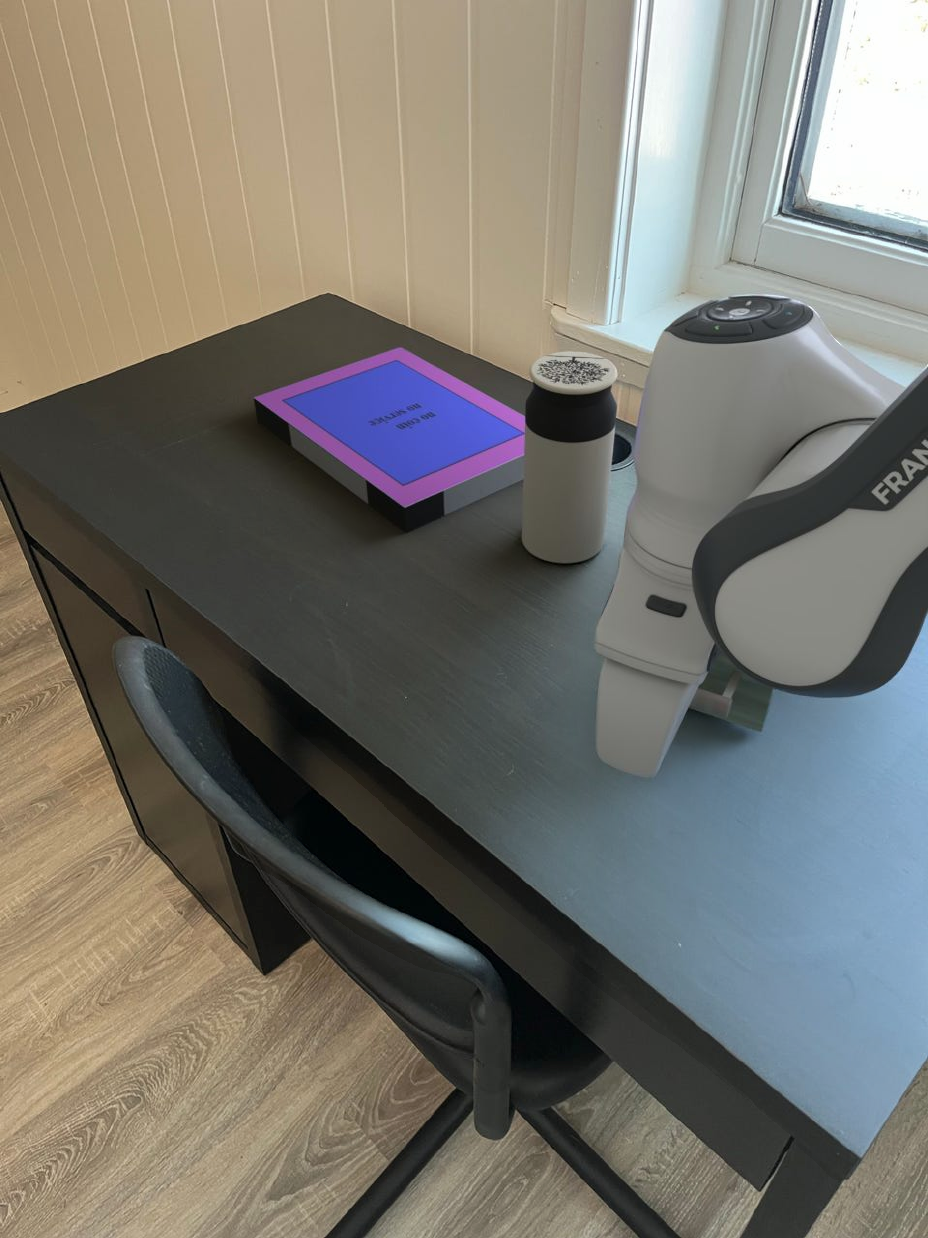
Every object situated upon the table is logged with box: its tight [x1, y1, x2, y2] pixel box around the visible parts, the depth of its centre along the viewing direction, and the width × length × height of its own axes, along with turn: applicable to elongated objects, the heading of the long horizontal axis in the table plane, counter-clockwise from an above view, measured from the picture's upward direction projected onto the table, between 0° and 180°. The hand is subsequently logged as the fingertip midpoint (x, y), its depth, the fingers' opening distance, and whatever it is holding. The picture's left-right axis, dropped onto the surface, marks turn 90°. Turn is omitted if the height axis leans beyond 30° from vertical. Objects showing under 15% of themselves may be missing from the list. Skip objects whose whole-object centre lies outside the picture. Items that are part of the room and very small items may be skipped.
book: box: [252, 346, 525, 534], centre depth 107 cm, size 21×3×30 cm
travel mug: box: [521, 350, 618, 564], centre depth 86 cm, size 8×8×18 cm
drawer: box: [688, 652, 775, 733], centre depth 74 cm, size 18×11×8 cm, turn 152°
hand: (666, 723), depth 66 cm, fingers closed
